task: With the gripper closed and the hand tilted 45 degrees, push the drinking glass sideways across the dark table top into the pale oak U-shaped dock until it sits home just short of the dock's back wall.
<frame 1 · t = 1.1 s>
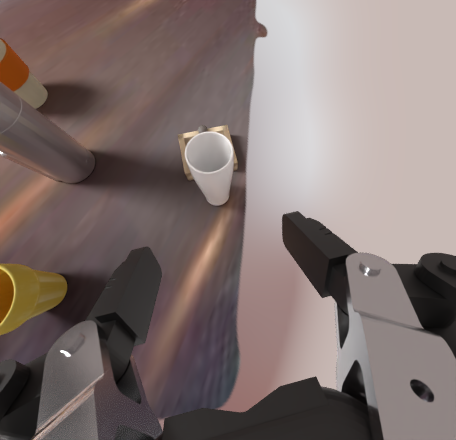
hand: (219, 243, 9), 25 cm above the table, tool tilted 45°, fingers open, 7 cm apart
oak dock: (208, 156, 39), on the table
reusable coffee cup: (31, 98, 44), on the table
plant pot: (52, 290, 32), on the table
drinking glass: (217, 195, 37), on the table
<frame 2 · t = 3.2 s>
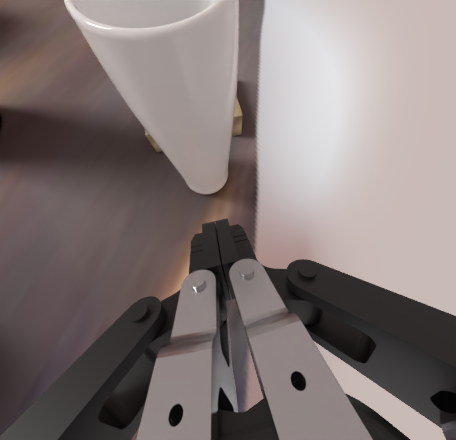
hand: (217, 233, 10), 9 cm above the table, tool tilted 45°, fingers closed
oak dock: (192, 113, 23), on the table
drinking glass: (207, 177, 21), on the table
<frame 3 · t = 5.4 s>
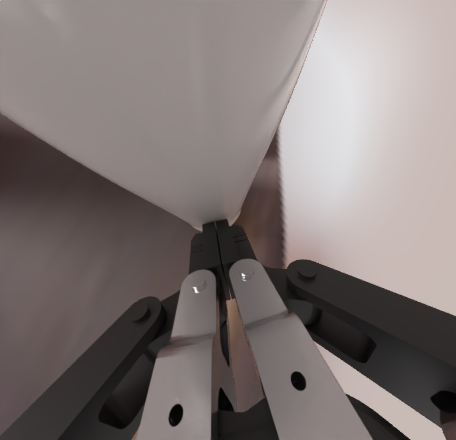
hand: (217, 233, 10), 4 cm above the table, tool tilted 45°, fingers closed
drinking glass: (212, 205, 15), on the table, touching gripper
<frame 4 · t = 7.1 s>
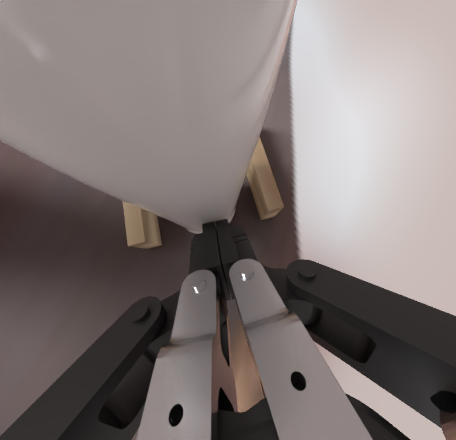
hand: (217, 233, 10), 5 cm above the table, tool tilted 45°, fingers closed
oak dock: (200, 182, 16), on the table
drinking glass: (206, 208, 15), on the table, touching gripper
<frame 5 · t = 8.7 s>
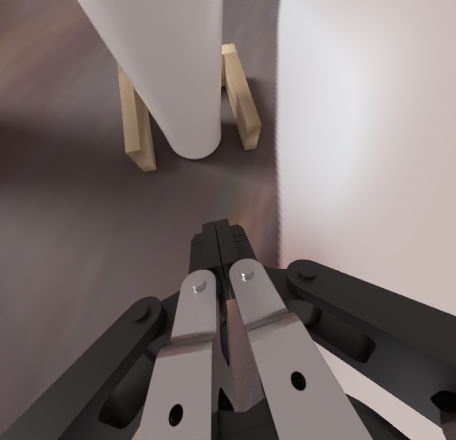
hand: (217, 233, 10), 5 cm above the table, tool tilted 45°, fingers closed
oak dock: (192, 120, 18), on the table
drinking glass: (196, 140, 17), on the table
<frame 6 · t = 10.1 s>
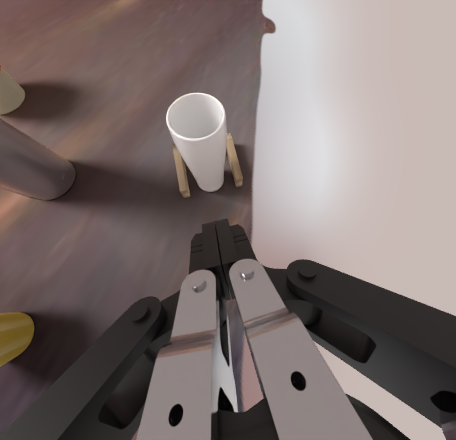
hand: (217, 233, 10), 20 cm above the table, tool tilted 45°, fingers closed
oak dock: (208, 169, 33), on the table
reusable coffee cup: (6, 100, 39), on the table
plant pot: (16, 333, 27), on the table
drinking glass: (210, 181, 33), on the table
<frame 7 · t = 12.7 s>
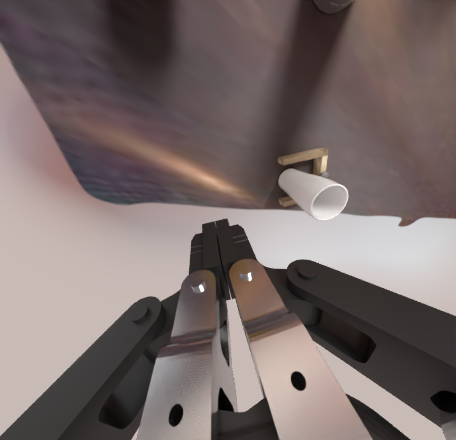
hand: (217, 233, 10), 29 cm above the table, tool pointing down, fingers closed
oak dock: (297, 177, 40), on the table
drinking glass: (287, 178, 40), on the table
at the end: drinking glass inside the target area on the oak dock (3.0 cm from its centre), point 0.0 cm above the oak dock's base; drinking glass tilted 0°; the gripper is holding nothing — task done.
